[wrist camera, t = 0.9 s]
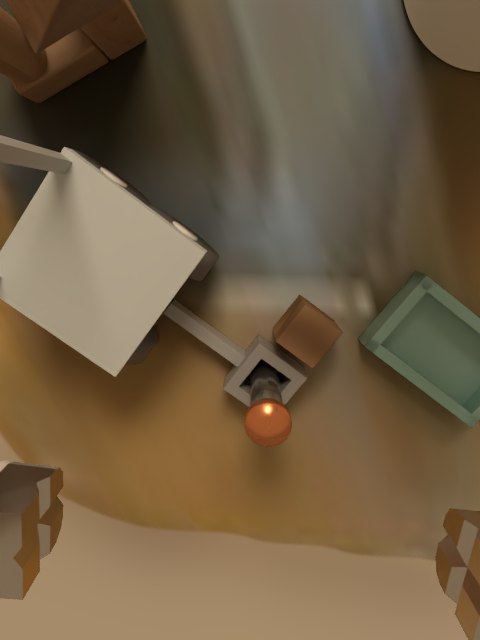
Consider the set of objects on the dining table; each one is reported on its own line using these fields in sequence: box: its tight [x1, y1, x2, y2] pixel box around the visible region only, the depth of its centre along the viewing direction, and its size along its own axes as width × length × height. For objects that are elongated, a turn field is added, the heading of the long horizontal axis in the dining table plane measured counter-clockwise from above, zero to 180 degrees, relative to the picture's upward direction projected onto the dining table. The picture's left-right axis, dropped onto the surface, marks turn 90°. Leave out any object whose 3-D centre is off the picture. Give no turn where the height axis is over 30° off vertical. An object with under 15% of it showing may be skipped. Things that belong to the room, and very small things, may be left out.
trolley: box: [0, 135, 307, 407], centre depth 31 cm, size 12×27×21 cm, turn 53°
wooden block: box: [0, 0, 146, 103], centre depth 28 cm, size 4×11×18 cm, turn 117°
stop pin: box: [245, 359, 292, 446], centre depth 38 cm, size 3×3×11 cm
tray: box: [358, 272, 480, 428], centre depth 41 cm, size 8×13×2 cm, turn 53°
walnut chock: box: [273, 295, 343, 368], centre depth 40 cm, size 4×4×4 cm
